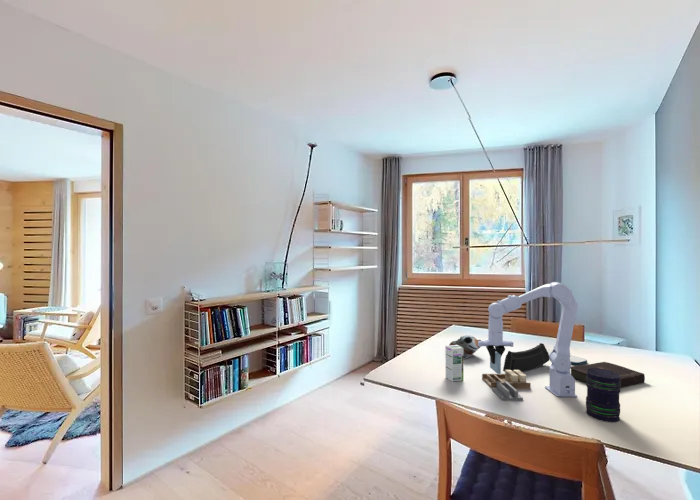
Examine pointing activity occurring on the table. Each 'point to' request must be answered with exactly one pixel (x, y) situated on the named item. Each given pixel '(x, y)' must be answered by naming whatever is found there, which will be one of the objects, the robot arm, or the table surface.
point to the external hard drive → (573, 359)
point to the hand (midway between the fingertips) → (495, 363)
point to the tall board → (496, 363)
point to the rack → (493, 378)
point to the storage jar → (603, 395)
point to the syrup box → (454, 362)
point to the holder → (506, 392)
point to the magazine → (526, 359)
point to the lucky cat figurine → (467, 345)
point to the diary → (626, 375)
